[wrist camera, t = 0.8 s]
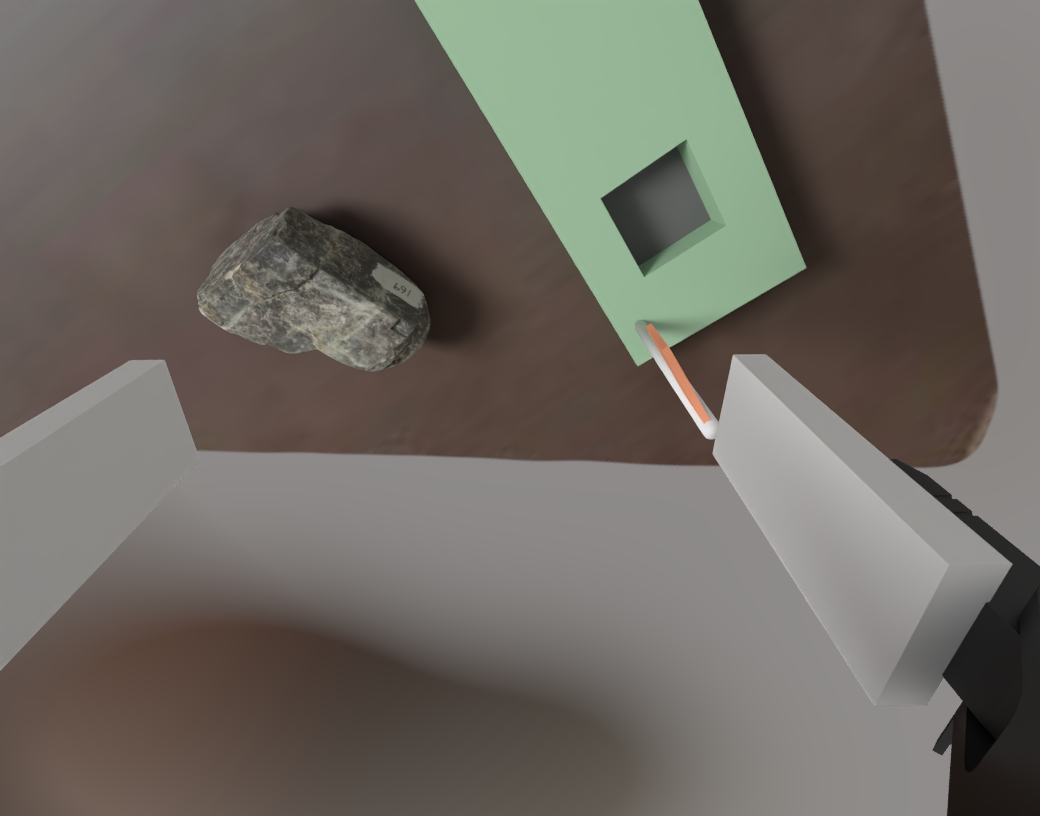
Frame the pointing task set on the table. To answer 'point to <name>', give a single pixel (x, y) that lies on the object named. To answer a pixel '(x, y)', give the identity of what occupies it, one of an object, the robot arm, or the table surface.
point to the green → (630, 158)
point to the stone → (315, 294)
